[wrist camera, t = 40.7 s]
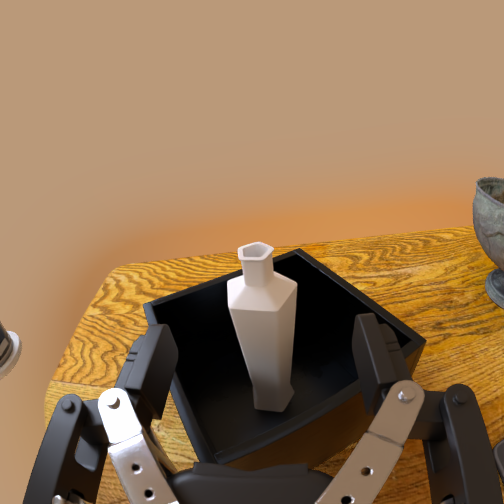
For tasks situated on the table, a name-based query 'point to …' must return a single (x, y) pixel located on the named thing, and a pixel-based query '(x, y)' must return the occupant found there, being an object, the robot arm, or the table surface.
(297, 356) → the open box
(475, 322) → the table surface
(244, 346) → the perfume bottle
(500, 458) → the smartphone
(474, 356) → the table surface
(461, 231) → the table surface
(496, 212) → the bowl
